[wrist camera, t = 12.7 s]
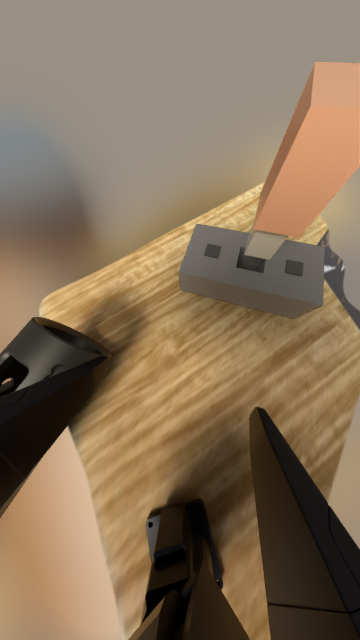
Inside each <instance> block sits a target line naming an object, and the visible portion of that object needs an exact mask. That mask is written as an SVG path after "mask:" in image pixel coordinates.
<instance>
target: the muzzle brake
mask: <svg viewBox="0 0 360 640" xmlns="http://www.w3.org/2000/svg"><path fill="white" fill-rule="evenodd" d="M101 355H107V356H109V357H110V359H111V357H112V355H111V353H110V352H109V351H108V350H107V349H106V348H105V347H104V346H102V345H101V344H99V343H98V342H96V341H94V340H93V339H91V338H89V337H88V336H86V335H84V334H82V333H80V332H78V331H76V330H74V329H72V328H70V327H68V326H65V325H63V324H61V323H58V322H55V321H53V320H49V319H46V318H42V317H34V318H32V319H31V320H30V321H29V322H28V323H27V325H26V326H25V327H24V328H23V329H22V330H21V331H20V332H19V334H18V335H17V336H16V337H15V338H14V339H13V340H12V341H11V343H10V344H9V345H8V346H7V347H6V348H5V349H4V350H3V351H2V352H1V353H0V397H2V396H5V395H7V394H10V393H12V392H15V391H17V390H20V389H22V388H25V387H27V386H29V385H32V384H34V383H37V382H39V381H41V380H44V379H46V378H49V377H51V376H53V375H56V374H58V373H61V372H63V371H65V370H68V369H70V368H73V367H75V366H77V365H80V364H82V363H85V362H87V361H89V360H92V359H94V358H97V357H99V356H101ZM8 378H11V381H8V382H7V383H4V384H2V383H3V381H5V380H6V379H8ZM40 460H41V459H40ZM38 463H39V462H38ZM38 463H37V464H38ZM37 464H36V466H37ZM36 466H35V467H36ZM35 467H34V468H35ZM34 468H33V469H32V471H33V470H34ZM32 471H31V472H30V473H29V474H28V476H27V477H26V478H25V479H24V481H23V482H22V483H21V485H20V486H19V487H18V488H17V489H16V491H15V492H14V493H13V494H12V496H11V497H10V498H9V499H8V501H7V502H6V503H5V504H4V506H3V507H2V508H1V509H0V518H1V516H2V515H3V513H4V512H5V510H6V509H7V508H8V506H9V505H10V503H11V502H12V500H13V499H14V497H15V496H16V495H17V493H18V492H19V490H20V489H21V487H22V486H23V484H24V483H25V481H26V480H27V478H28V477H29V476H30V474H31V473H32Z"/></svg>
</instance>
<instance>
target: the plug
mask: <svg viewBox="0 0 360 640" xmlns="http://www.w3.org/2000/svg"><path fill="white" fill-rule="evenodd" d="M359 166H360V63H334V62H315V64H314V66H313V69H312V71H311V73H310V75H309V78H308V80H307V83H306V85H305V88H304V90H303V93H302V95H301V97H300V100H299V102H298V104H297V107H296V109H295V112H294V114H293V116H292V119H291V121H290V124H289V126H288V129H287V131H286V134H285V136H284V138H283V141H282V143H281V145H280V148H279V151H278V153H277V155H276V157H275V160H274V162H273V165H272V167H271V170H270V172H269V174H268V177H267V179H266V182H265V184H264V186H263V189H262V191H261V194H260V199H259V204H258V208H257V213H256V218H255V222H254V225H253V227H252V229H251V231H250V233H249V236H248V239H247V244H246V248H245V253H244V255H248V256H253V257H258V258H263V259H268V260H270V259H271V258H272V256H273V255H274V254H275V252H276V251H277V250H278V248H279V247H280V246H281V245H282V243H283V242H284V241H285V239H286V238H287V237H288V236H294V237H300V236H301V234H302V233H303V232H304V231H305V230H306V229H307V227H308V226H309V225H310V224H311V223H312V221H313V220H314V219H315V218H316V217H317V216H318V214H319V213H320V212H321V211H322V210H323V208H324V207H325V206H326V205H327V204H328V202H329V201H330V200H331V199H332V198H333V197H334V196H335V194H336V193H337V192H338V191H339V190H340V189H341V187H342V186H343V185H344V184H345V183H346V181H347V180H348V179H349V178H350V177H351V176H352V174H353V173H354V172H355V171H356V170H357V168H358V167H359Z"/></svg>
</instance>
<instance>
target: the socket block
mask: <svg viewBox="0 0 360 640" xmlns="http://www.w3.org/2000/svg"><path fill="white" fill-rule="evenodd" d="M248 236H249V233H245V232H240V231H234V230H229V229H223V228H218V227H212V226H207V225H201V224H196V226H195V229H194V232H193V234H192V237H191V240H190V243H189V245H188V248H187V251H186V254H185V256H184V259H183V262H182V265H181V267H180V270H179V279H180V289H181V291H185V292H189V293H193V294H197V295H201V296H205V297H209V298H213V299H217V300H221V301H225V302H229V303H233V304H237V305H241V306H245V307H249V308H253V309H257V310H261V311H265V312H269V313H273V314H277V315H281V316H285V317H289V318H293V319H295V318H297V317H299V316H301V315H304V314H306V313H308V312H310V311H312V310H314V309H316V308H319V307H321V306H323V283H324V251H325V247H322V246H317V245H311V244H306V243H300V242H295V241H289V240H285V241H284V242H283V243H282V245H281V246H280V247H279V248H278V250H277V251H276V252H275V254H274V255H273V256H272V258H271V259H270V260H268V259H263V258H258V257H253V256H248V255H244V253H245V248H246V244H247V239H248Z"/></svg>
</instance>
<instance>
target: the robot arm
mask: <svg viewBox="0 0 360 640" xmlns="http://www.w3.org/2000/svg"><path fill="white" fill-rule="evenodd" d="M110 367H111V362H110V357H109V356H107V355H101V356H99V357H97V358H94V359H92V360H89V361H87V362H85V363H82V364H80V365H77V366H75V367H73V368H70V369H68V370H65V371H63V372H61V373H58V374H56V375H53V376H51V377H49V378H46V379H44V380H41V381H39V382H37V383H34V384H32V385H29V386H27V387H25V388H22V389H20V390H17V391H15V392H12V393H10V394H7V395H5V396H2V397H0V509H1V508H2V507H3V506H4V504H5V503H6V502H7V501H8V499H9V498H10V497H11V496H12V494H13V493H14V492H15V491H16V489H17V488H18V487H19V486H20V485H21V483H22V482H23V481H24V479H25V478H26V477H27V476H28V474H29V473H30V472H31V471H32V469H33V468H34V467H35V466H36V464H37V463H38V462H39V461H40V459H41V458H42V457H43V456H44V454H45V453H46V452H47V450H48V449H49V448H50V447H51V446H52V444H53V443H54V442H55V441H56V439H57V438H58V437H59V436H60V434H61V433H62V432H63V431H64V429H65V428H66V427H67V426H68V425H69V423H70V422H71V421H72V420H73V418H74V417H75V416H76V415H77V413H78V412H79V411H80V410H81V408H82V407H83V406H84V405H85V403H86V402H87V401H88V400H89V398H90V397H91V396H92V395H93V393H94V392H95V391H96V389H97V388H98V386H99V385H100V383H101V382H102V380H103V379H104V377H105V376H106V374H107V373H108V371H109V369H110ZM249 429H250V456H251V465H252V474H253V483H254V492H255V500H256V509H257V518H258V527H259V536H260V544H261V553H262V562H263V571H264V580H265V588H266V597H267V603H268V605H267V607H268V616H269V625H270V634H271V640H360V549H359V548H358V546H357V545H356V543H355V542H354V540H353V539H352V538H351V536H350V535H349V533H348V532H347V530H346V529H345V527H344V526H343V525H342V523H341V522H340V520H339V519H338V517H337V516H336V514H335V513H334V511H333V510H332V508H331V507H330V506H329V505H328V503H327V501H326V500H325V498H324V497H323V495H322V494H321V492H320V491H319V489H318V488H317V486H316V485H315V483H314V482H313V480H312V479H311V477H310V476H309V474H308V473H307V471H306V470H305V468H304V467H303V465H302V464H301V462H300V461H299V459H298V458H297V456H296V455H295V453H294V452H293V451H292V449H291V448H290V446H289V445H288V443H287V442H286V440H285V439H284V437H283V436H282V434H281V433H280V431H279V430H278V428H277V427H276V425H275V424H274V422H273V421H272V419H271V418H270V416H269V415H268V413H267V412H266V411H265V409H263V408H260V407H255V409H254V410H253V411H252V413H251V414H250V417H249ZM199 505H201V506H202V507H201V508H198V506H199ZM149 522H152V523H153V524H150V523H149ZM146 530H147V537H148V543H149V550H150V557H151V569H150V575H149V580H148V585H147V591H146V596H145V602H144V607H143V612H142V618H141V623H140V626H139V628H138V629H137V630H136V631H135V632H134V633H133V635H132V636H131V637H130V638H129V639H128V640H250V639H249V637H248V635H247V633H246V632H245V630H244V628H243V627H242V625H241V623H240V622H239V620H238V618H237V616H236V615H235V613H234V611H233V610H232V608H231V606H230V605H229V603H228V601H227V600H226V598H225V596H224V594H223V593H222V591H221V589H222V587H223V580H222V574H221V570H220V566H219V562H218V558H217V554H216V550H215V546H214V542H213V538H212V534H211V530H210V526H209V522H208V518H207V514H206V510H205V506H204V502H203V501H202V500H201V499H198V500H195V501H192V502H189V503H186V504H184V503H182V504H179V505H176V506H173V507H170V508H167V509H164V510H162V511H161V512H158V513H155V514H152V515H150V516H149V517H148V518H147V522H146ZM216 579H219V581H216Z"/></svg>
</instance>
